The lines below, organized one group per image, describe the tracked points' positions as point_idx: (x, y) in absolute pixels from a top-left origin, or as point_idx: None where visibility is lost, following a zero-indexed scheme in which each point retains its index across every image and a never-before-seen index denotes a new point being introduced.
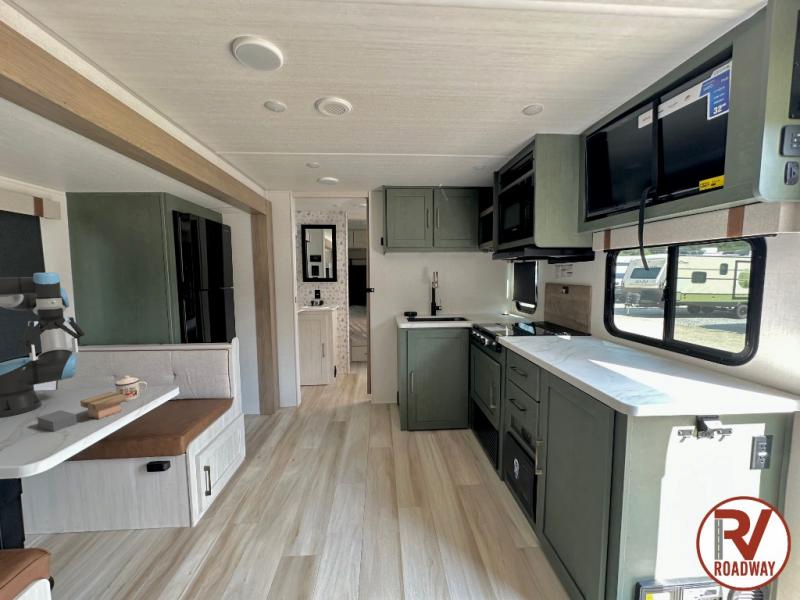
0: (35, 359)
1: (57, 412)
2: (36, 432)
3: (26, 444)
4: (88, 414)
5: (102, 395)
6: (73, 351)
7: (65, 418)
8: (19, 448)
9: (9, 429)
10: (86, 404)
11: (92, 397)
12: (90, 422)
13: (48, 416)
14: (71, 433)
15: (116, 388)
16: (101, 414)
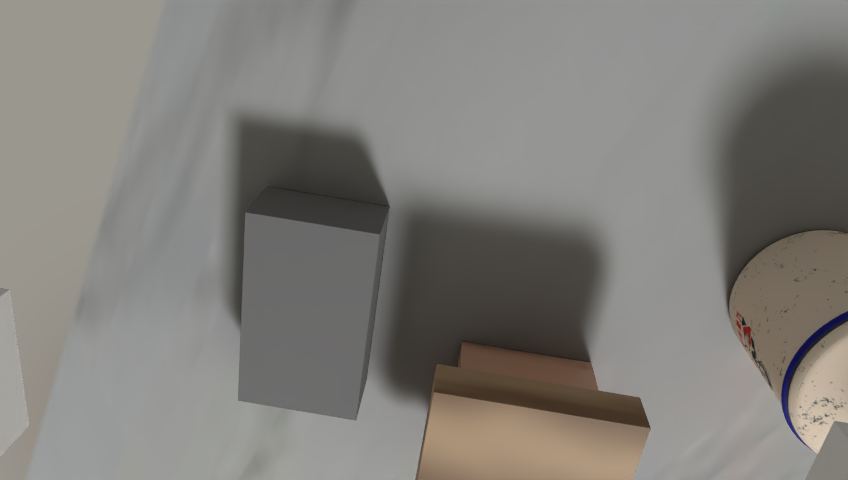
0: (9, 438)
1: (342, 263)
2: (217, 274)
3: (128, 383)
4: (461, 350)
5: (562, 440)
6: (826, 470)
7: (300, 409)
8: (96, 396)
9: (172, 29)
10: (422, 448)
11: (511, 409)
12: (399, 434)
13: (277, 280)
14: (277, 468)
15: (785, 332)
16: None
